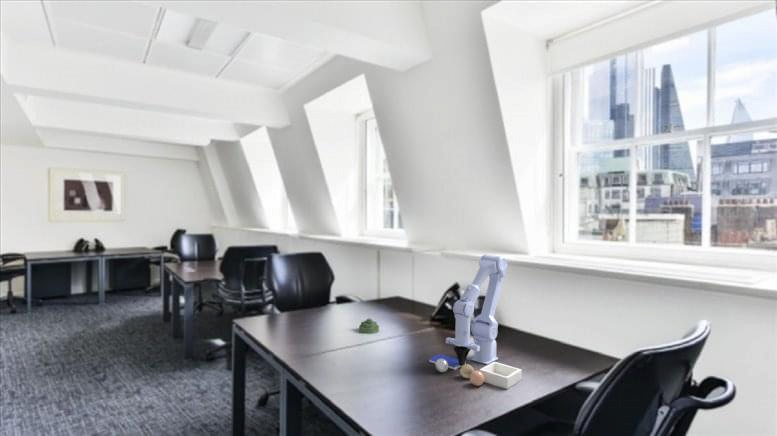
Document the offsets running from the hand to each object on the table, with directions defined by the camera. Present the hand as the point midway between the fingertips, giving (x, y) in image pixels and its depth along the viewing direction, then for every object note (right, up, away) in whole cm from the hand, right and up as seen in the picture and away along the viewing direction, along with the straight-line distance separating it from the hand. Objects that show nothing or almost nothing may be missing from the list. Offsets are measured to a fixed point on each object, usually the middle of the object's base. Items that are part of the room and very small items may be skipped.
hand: (461, 364), depth 165 cm
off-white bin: (+12, -2, -12) cm, 17 cm away
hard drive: (-5, -1, +5) cm, 7 cm away
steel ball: (-9, -1, -5) cm, 10 cm away
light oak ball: (0, -1, -10) cm, 10 cm away
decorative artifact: (-39, 0, +47) cm, 61 cm away
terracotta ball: (+2, -1, -16) cm, 17 cm away
